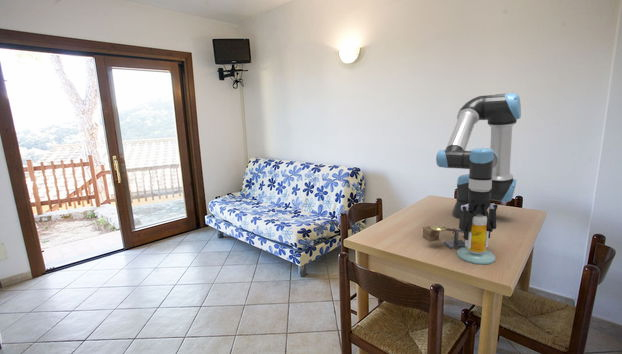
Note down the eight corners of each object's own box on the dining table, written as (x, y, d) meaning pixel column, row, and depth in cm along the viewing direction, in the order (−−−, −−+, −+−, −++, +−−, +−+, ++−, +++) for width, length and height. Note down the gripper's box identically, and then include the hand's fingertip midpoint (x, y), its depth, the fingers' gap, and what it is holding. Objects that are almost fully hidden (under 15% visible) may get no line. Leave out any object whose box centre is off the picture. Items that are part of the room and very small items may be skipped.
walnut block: (431, 235, 138) (431, 225, 137) (439, 239, 133) (439, 229, 132) (422, 237, 137) (422, 227, 136) (429, 241, 132) (430, 231, 131)
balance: (475, 240, 130) (476, 221, 128) (485, 246, 124) (486, 226, 122) (427, 243, 129) (427, 224, 128) (434, 250, 123) (434, 230, 121)
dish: (481, 248, 122) (481, 245, 122) (502, 263, 109) (503, 260, 109) (451, 250, 122) (451, 247, 121) (468, 265, 109) (469, 262, 109)
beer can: (463, 248, 118) (465, 212, 115) (478, 247, 118) (480, 211, 115) (473, 255, 112) (475, 217, 109) (488, 253, 112) (491, 216, 110)
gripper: (497, 185, 114) (493, 241, 119) (449, 188, 114) (447, 244, 118) (511, 190, 107) (506, 249, 111) (460, 193, 106) (457, 252, 111)
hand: (476, 246), depth 115 cm, fingers closed on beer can, 6 cm apart
